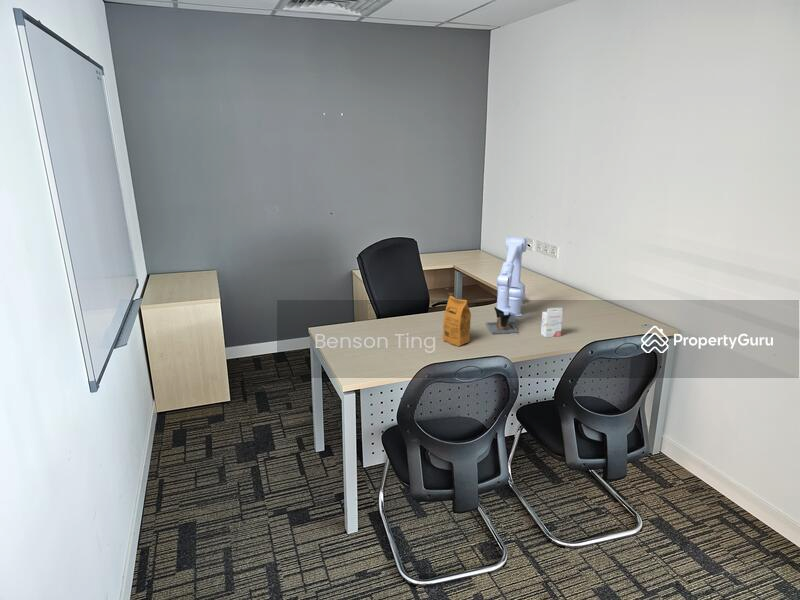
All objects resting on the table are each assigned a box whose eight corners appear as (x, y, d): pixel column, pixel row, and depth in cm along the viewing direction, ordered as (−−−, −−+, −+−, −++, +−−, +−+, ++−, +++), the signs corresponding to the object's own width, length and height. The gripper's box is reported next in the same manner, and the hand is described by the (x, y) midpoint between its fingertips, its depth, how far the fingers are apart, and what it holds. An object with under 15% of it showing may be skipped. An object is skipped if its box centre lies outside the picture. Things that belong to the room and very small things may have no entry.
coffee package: (454, 335, 258) (455, 292, 252) (472, 342, 249) (474, 298, 242) (439, 340, 252) (440, 296, 246) (457, 348, 243) (459, 302, 236)
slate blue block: (502, 320, 278) (503, 312, 277) (509, 319, 280) (510, 311, 279) (507, 323, 274) (508, 315, 273) (514, 322, 276) (515, 314, 275)
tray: (485, 325, 272) (485, 322, 271) (510, 324, 273) (510, 321, 272) (491, 334, 259) (492, 331, 259) (517, 333, 261) (517, 330, 260)
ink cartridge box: (556, 332, 262) (558, 304, 257) (561, 336, 257) (563, 307, 253) (540, 333, 260) (542, 305, 256) (544, 337, 255) (547, 308, 251)
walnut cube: (496, 326, 268) (497, 317, 267) (506, 326, 269) (506, 317, 267) (499, 330, 264) (499, 320, 262) (508, 329, 264) (509, 320, 262)
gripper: (515, 302, 255) (513, 328, 259) (507, 293, 268) (505, 318, 272) (500, 302, 254) (499, 329, 258) (493, 294, 268) (492, 319, 272)
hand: (501, 323), depth 265 cm, fingers open, 7 cm apart
